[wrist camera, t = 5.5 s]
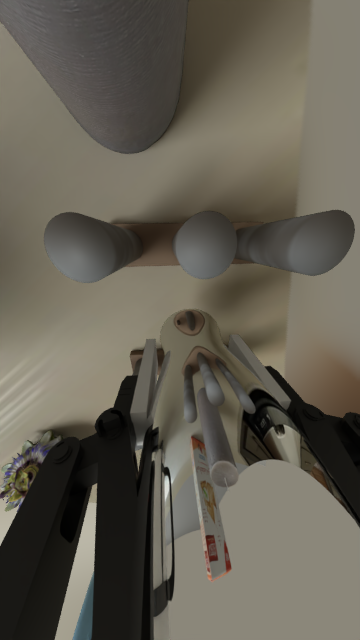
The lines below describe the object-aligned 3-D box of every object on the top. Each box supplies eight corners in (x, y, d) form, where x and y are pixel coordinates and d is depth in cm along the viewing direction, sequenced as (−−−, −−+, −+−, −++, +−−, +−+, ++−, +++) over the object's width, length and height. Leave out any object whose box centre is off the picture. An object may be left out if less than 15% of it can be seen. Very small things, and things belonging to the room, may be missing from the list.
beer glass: (182, 289, 14) (500, 1156, 1) (236, 327, 16) (575, 720, 3) (142, 344, 16) (27, 820, 3) (195, 371, 18) (274, 716, 5)
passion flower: (67, 406, 35) (65, 445, 25) (88, 441, 38) (93, 488, 28) (-2, 445, 30) (-39, 515, 20) (29, 483, 32) (10, 560, 23)
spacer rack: (233, 365, 26) (274, 440, 16) (135, 371, 25) (113, 455, 15) (258, 223, 17) (381, 196, 7) (107, 225, 16) (14, 197, 6)
